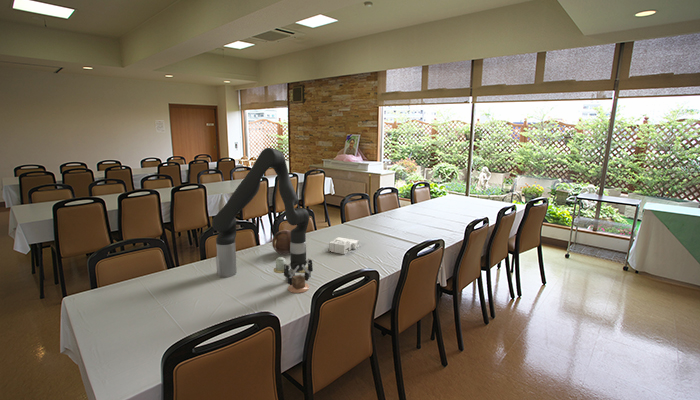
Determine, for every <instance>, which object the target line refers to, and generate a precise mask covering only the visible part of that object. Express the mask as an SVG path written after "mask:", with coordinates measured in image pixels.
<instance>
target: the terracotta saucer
mask: <svg viewBox="0 0 700 400" xmlns="http://www.w3.org/2000/svg"><path fill="white" fill-rule="evenodd" d="M309 289H310V285H309V284H308V283H306V282H305V288H301V289H298V290H296V289H295V288H294V287H293V286H292V285H290V284H289V285H288V286H287V290H288V291H289V292H290V293H293V294H303V293H306V292H307V291H309Z"/></svg>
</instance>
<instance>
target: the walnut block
mask: <svg viewBox="0 0 700 400" xmlns="http://www.w3.org/2000/svg"><path fill="white" fill-rule="evenodd" d="M305 283H306V280H305V276H303V275H302V273H299V274H297V275H295V276H293V277H292V286H293V287H294V288H295V289H296V290H298V289H301V288H305Z"/></svg>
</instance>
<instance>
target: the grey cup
mask: <svg viewBox="0 0 700 400" xmlns="http://www.w3.org/2000/svg"><path fill="white" fill-rule="evenodd" d="M285 264H287V263H286V258H285V257H282V256H279V257H277V258H276V259H275V268H276V270H277V271H284V265H285Z"/></svg>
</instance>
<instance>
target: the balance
mask: <svg viewBox="0 0 700 400" xmlns="http://www.w3.org/2000/svg"><path fill="white" fill-rule="evenodd" d="M305 267H306V268H307V269H308V266H305ZM273 272H274V273H276V274H284V271H277V270H276V267H274V268H273ZM297 273H298V274H305V271H304V270H302V271H298V272H295V274H294V275H293V276H296V274H297ZM293 276H292V277H293ZM311 276H312V272H309V278H311ZM284 279H285V281H286V282H288V278H286V277H285V278H284Z"/></svg>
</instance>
